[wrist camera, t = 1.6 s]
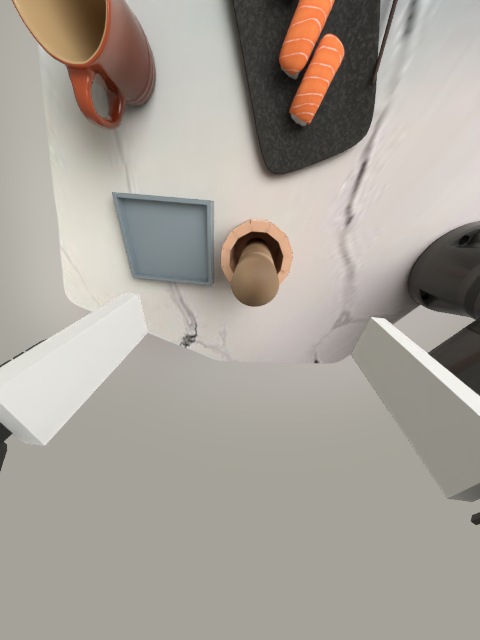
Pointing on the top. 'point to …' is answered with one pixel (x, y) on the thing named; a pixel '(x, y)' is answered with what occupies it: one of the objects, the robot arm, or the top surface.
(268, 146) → the sushi plate
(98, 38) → the mug
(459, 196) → the top surface
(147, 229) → the tray
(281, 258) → the cup
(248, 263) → the peg
